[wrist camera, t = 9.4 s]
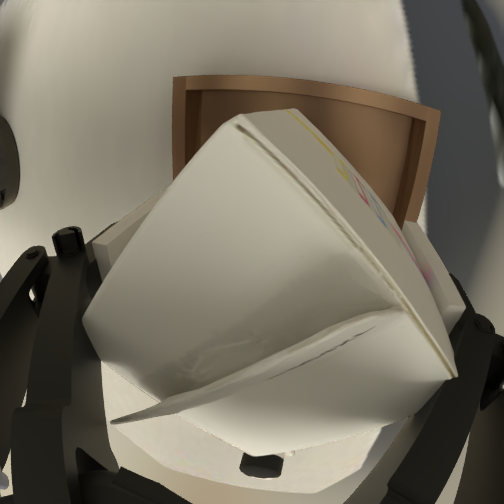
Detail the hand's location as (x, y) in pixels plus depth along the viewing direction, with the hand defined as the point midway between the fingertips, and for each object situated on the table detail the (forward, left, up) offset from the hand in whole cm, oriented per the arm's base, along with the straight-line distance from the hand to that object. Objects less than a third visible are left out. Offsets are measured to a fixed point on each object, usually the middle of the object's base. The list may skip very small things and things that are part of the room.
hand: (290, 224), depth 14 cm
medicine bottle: (+2, -37, -10) cm, 38 cm away
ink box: (0, 0, -2) cm, 2 cm away
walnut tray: (0, 0, -9) cm, 9 cm away
